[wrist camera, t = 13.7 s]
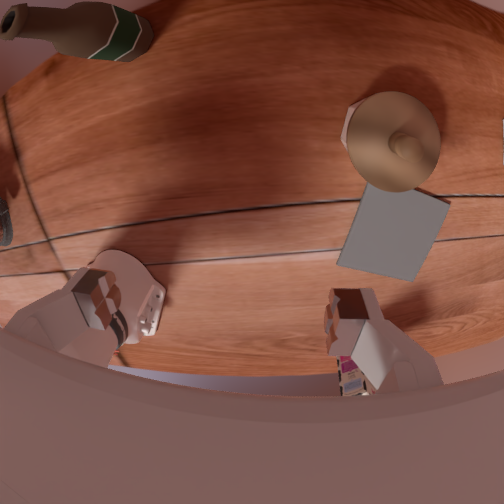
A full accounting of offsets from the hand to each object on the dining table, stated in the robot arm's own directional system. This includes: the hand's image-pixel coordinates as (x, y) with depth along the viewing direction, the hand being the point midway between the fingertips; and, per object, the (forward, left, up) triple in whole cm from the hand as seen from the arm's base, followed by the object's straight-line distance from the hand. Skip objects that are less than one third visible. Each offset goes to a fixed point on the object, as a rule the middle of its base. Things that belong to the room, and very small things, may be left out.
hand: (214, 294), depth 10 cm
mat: (-8, -24, -31) cm, 40 cm away
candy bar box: (-34, -27, -31) cm, 54 cm away
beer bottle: (+14, +22, -31) cm, 41 cm away
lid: (+6, -16, -26) cm, 31 cm away
